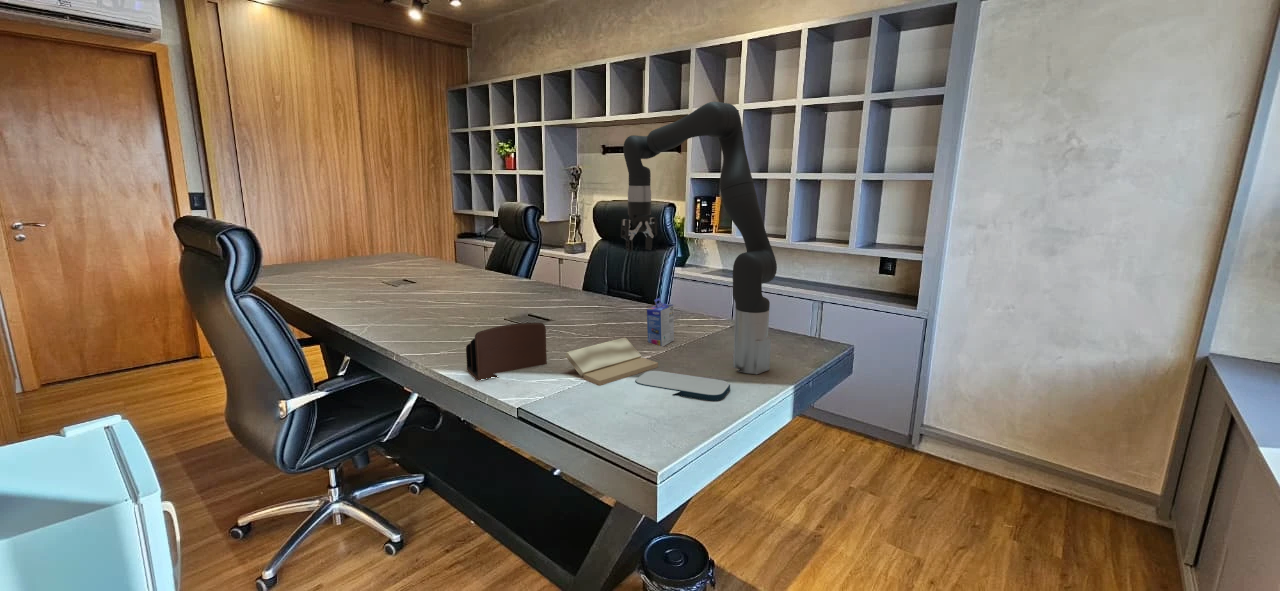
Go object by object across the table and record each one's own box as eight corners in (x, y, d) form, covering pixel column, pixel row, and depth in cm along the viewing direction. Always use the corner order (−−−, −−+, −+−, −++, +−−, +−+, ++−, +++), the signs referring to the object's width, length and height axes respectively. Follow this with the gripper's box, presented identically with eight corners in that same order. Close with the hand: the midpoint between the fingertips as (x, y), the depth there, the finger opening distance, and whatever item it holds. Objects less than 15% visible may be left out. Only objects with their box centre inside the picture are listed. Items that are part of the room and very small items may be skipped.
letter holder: (547, 369, 162) (546, 320, 159) (477, 382, 152) (474, 330, 149) (533, 359, 170) (532, 313, 167) (466, 371, 160) (463, 322, 157)
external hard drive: (732, 389, 148) (733, 381, 148) (720, 404, 138) (720, 396, 137) (648, 376, 157) (648, 369, 157) (630, 390, 147) (630, 382, 147)
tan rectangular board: (660, 370, 160) (660, 362, 160) (596, 391, 145) (596, 381, 144) (621, 357, 172) (621, 349, 172) (558, 375, 157) (557, 366, 156)
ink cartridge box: (659, 338, 193) (659, 295, 190) (674, 340, 190) (675, 297, 187) (646, 345, 184) (646, 301, 181) (661, 348, 182) (662, 303, 179)
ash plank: (639, 359, 165) (641, 355, 164) (581, 376, 150) (583, 372, 150) (623, 341, 169) (625, 337, 168) (565, 356, 155) (566, 352, 154)
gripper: (631, 201, 177) (631, 253, 181) (663, 200, 187) (662, 249, 190) (615, 200, 183) (615, 251, 186) (647, 199, 192) (646, 247, 196)
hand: (639, 250), depth 188 cm, fingers open, 8 cm apart
